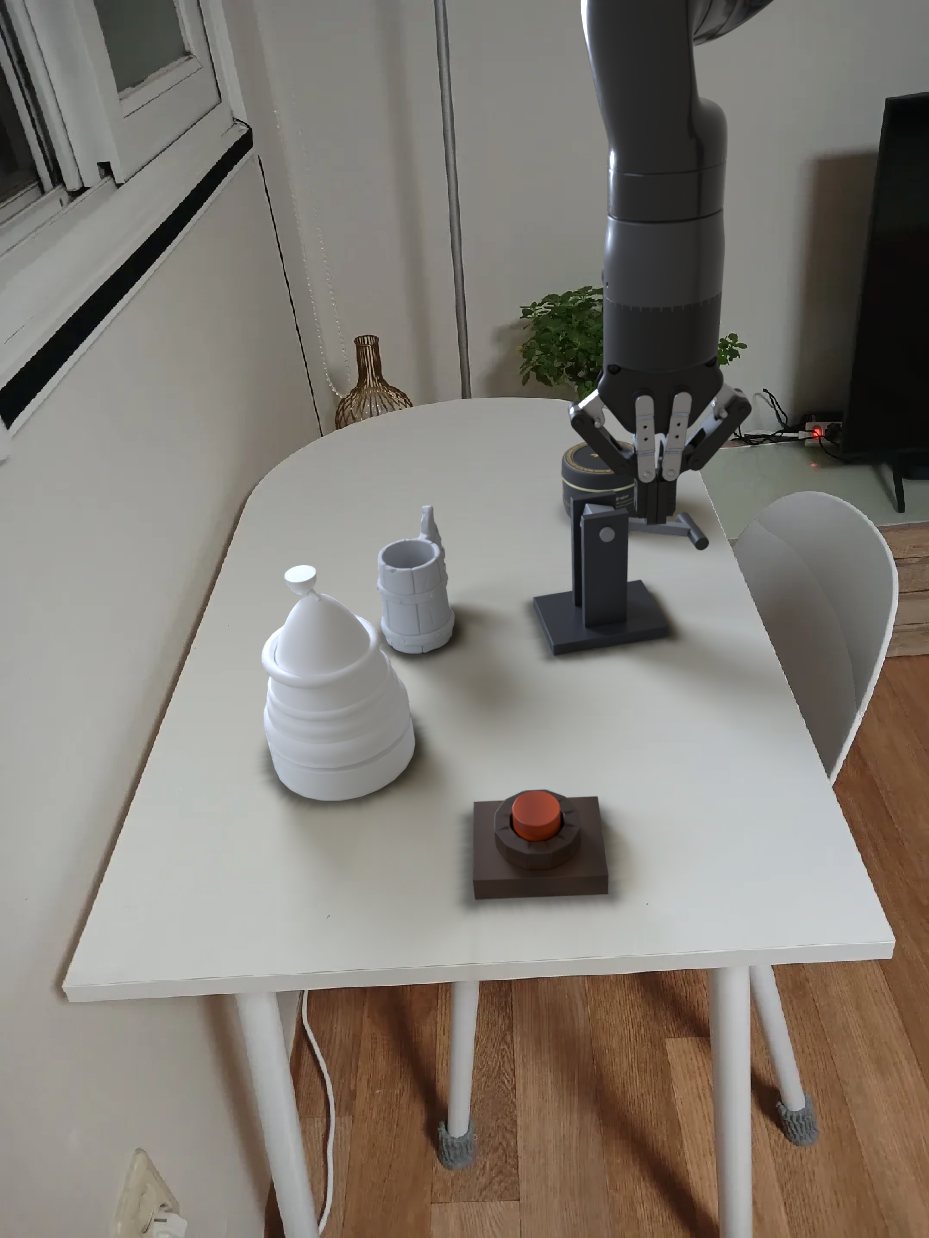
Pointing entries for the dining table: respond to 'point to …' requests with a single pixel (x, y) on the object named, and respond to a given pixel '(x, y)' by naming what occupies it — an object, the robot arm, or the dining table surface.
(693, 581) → the dining table surface
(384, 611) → the mug
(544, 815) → the button
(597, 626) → the dark stand
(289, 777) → the honey pot
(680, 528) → the switch lever
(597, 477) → the jar
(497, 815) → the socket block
